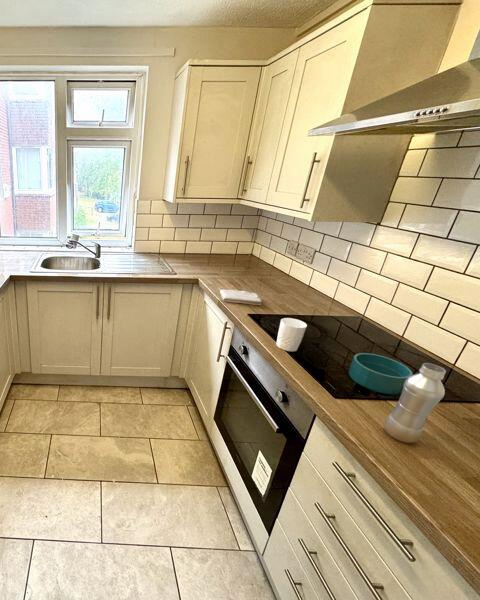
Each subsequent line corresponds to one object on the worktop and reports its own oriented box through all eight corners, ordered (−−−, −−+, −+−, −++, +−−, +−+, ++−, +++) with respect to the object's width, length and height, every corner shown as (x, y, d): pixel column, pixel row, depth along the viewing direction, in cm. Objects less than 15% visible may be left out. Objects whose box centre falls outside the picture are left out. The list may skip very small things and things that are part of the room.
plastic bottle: (412, 432, 78) (449, 364, 70) (421, 451, 73) (461, 380, 65) (378, 422, 81) (410, 356, 74) (384, 439, 76) (418, 370, 68)
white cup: (277, 339, 121) (284, 315, 117) (301, 347, 116) (309, 322, 112) (271, 346, 116) (278, 322, 112) (296, 355, 111) (303, 329, 107)
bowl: (390, 373, 101) (397, 357, 99) (414, 399, 89) (423, 382, 87) (341, 365, 105) (346, 349, 103) (358, 389, 94) (365, 372, 91)
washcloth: (262, 306, 151) (263, 300, 150) (222, 302, 155) (223, 296, 154) (256, 297, 161) (257, 291, 160) (219, 293, 166) (220, 288, 164)
